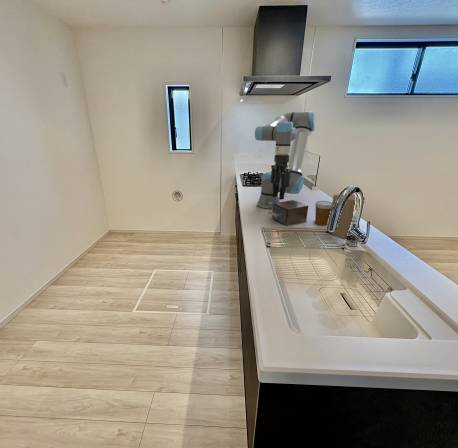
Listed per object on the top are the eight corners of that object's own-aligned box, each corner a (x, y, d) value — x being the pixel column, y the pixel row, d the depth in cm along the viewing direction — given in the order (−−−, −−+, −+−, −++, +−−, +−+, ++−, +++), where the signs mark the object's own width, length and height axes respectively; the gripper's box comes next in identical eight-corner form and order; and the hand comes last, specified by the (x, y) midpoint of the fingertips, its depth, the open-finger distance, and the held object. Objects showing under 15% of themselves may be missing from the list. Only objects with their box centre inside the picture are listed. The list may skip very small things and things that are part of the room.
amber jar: (327, 220, 140) (330, 200, 136) (332, 226, 132) (336, 205, 127) (310, 219, 141) (313, 200, 137) (314, 225, 133) (318, 205, 128)
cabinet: (286, 225, 133) (288, 209, 129) (272, 218, 143) (273, 203, 140) (306, 221, 139) (308, 205, 135) (291, 214, 149) (293, 200, 146)
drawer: (277, 225, 131) (278, 212, 128) (264, 219, 140) (265, 206, 137) (302, 220, 138) (304, 207, 135) (289, 214, 148) (290, 202, 145)
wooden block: (356, 235, 121) (365, 197, 114) (343, 239, 117) (351, 199, 109) (339, 228, 129) (346, 192, 122) (326, 231, 125) (333, 194, 118)
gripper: (265, 153, 129) (262, 194, 138) (288, 156, 114) (283, 203, 123) (276, 152, 132) (273, 193, 141) (300, 155, 117) (294, 201, 126)
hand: (278, 197), depth 132 cm, fingers open, 5 cm apart
